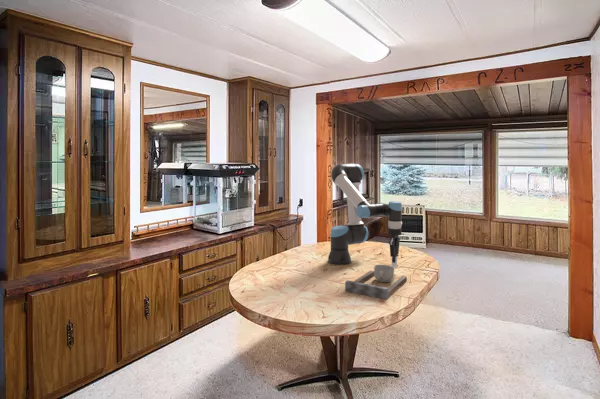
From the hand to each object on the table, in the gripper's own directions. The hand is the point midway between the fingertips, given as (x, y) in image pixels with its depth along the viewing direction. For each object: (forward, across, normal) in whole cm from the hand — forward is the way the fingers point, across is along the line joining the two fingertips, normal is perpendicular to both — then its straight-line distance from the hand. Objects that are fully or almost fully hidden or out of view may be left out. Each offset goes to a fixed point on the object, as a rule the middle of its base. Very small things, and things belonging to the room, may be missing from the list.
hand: (394, 267), depth 217 cm
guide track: (+3, -27, 0) cm, 27 cm away
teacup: (+4, -19, 0) cm, 19 cm away
